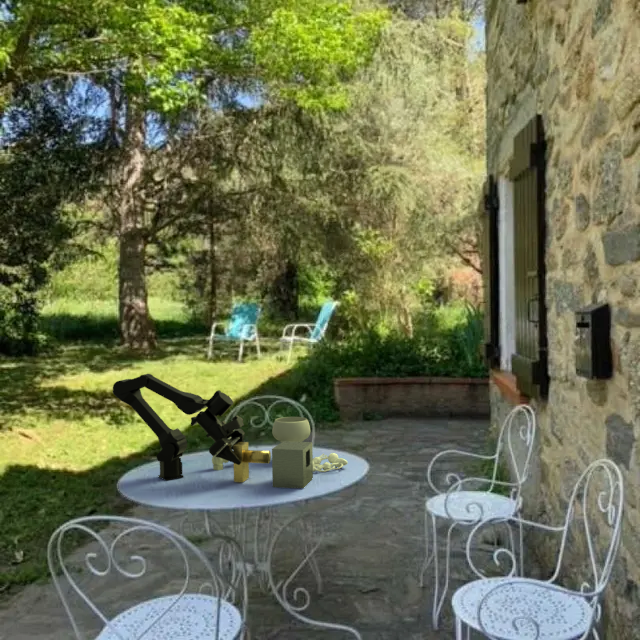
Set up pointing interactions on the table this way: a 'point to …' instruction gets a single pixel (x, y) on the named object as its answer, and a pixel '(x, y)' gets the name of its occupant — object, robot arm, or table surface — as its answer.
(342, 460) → the tangled rod sculpture
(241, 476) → the end cover
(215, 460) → the valve
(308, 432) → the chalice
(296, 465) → the housing
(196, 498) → the table surface
